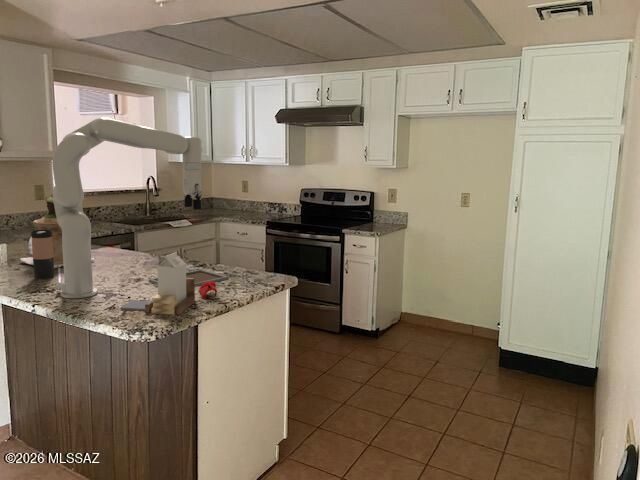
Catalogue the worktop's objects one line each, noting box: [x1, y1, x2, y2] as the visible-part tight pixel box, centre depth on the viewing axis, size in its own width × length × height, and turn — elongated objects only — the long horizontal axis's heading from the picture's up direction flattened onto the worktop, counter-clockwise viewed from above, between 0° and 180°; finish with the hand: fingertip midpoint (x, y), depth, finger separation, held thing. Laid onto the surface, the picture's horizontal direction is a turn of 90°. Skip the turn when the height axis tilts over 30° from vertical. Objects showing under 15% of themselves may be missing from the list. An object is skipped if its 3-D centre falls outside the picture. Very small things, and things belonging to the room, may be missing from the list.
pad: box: [120, 299, 151, 311], centre depth 172 cm, size 9×9×1 cm
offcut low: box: [151, 308, 176, 315], centre depth 166 cm, size 8×4×2 cm, turn 84°
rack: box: [145, 278, 196, 316], centre depth 171 cm, size 12×15×9 cm
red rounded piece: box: [198, 282, 218, 299], centre depth 186 cm, size 8×6×6 cm
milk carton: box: [156, 251, 187, 304], centre depth 171 cm, size 7×7×19 cm
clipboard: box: [148, 269, 229, 289], centre depth 208 cm, size 19×2×30 cm
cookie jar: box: [19, 196, 95, 269], centre depth 232 cm, size 25×25×32 cm
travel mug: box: [30, 229, 55, 280], centre depth 205 cm, size 8×8×20 cm
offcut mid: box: [153, 301, 179, 310], centre depth 166 cm, size 8×4×2 cm, turn 83°
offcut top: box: [151, 294, 175, 304], centre depth 165 cm, size 6×4×2 cm, turn 84°
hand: (192, 208), depth 204 cm, fingers open, 9 cm apart
